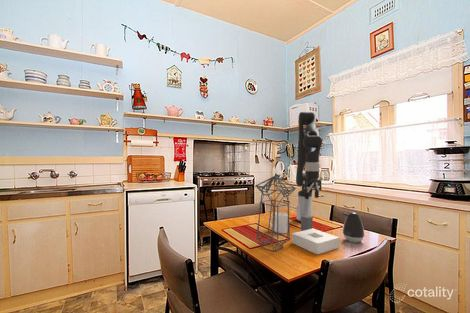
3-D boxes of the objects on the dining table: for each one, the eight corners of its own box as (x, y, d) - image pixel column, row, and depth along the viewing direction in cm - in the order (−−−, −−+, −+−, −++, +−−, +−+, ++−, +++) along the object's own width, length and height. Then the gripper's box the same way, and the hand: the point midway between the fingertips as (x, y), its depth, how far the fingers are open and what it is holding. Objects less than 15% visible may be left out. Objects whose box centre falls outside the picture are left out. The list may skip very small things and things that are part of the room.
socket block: (291, 243, 118) (291, 233, 118) (312, 237, 127) (312, 228, 127) (317, 254, 105) (317, 243, 105) (339, 247, 113) (339, 237, 113)
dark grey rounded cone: (345, 236, 130) (345, 209, 130) (365, 240, 123) (366, 212, 123) (339, 241, 122) (340, 212, 122) (361, 246, 115) (362, 215, 115)
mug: (266, 231, 136) (266, 214, 136) (269, 227, 143) (270, 211, 143) (286, 234, 131) (287, 216, 131) (289, 230, 139) (289, 213, 139)
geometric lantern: (269, 239, 123) (272, 174, 123) (295, 248, 112) (298, 177, 111) (249, 246, 112) (252, 174, 112) (275, 257, 101) (279, 178, 101)
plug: (300, 233, 134) (301, 216, 134) (306, 232, 136) (306, 215, 136) (307, 235, 130) (307, 218, 130) (312, 234, 132) (312, 216, 132)
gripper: (314, 169, 139) (314, 196, 139) (298, 170, 131) (298, 198, 131) (325, 170, 133) (325, 198, 133) (309, 170, 125) (308, 200, 125)
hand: (311, 198), depth 132 cm, fingers open, 8 cm apart
